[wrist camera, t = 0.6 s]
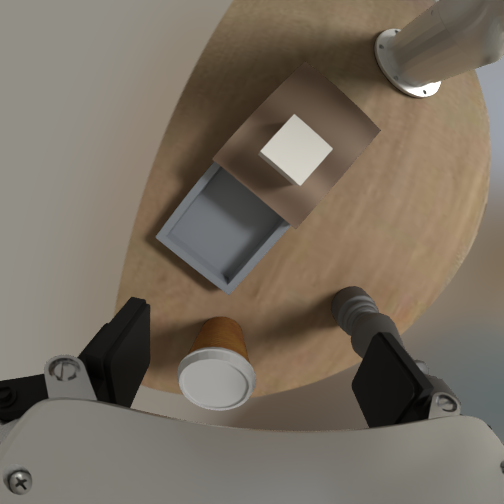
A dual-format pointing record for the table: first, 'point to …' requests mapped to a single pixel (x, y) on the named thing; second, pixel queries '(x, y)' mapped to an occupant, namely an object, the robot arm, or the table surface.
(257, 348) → the table surface
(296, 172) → the white block
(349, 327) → the candle holder
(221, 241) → the box
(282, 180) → the brown wooden box
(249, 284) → the table surface
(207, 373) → the disposable coffee cup
